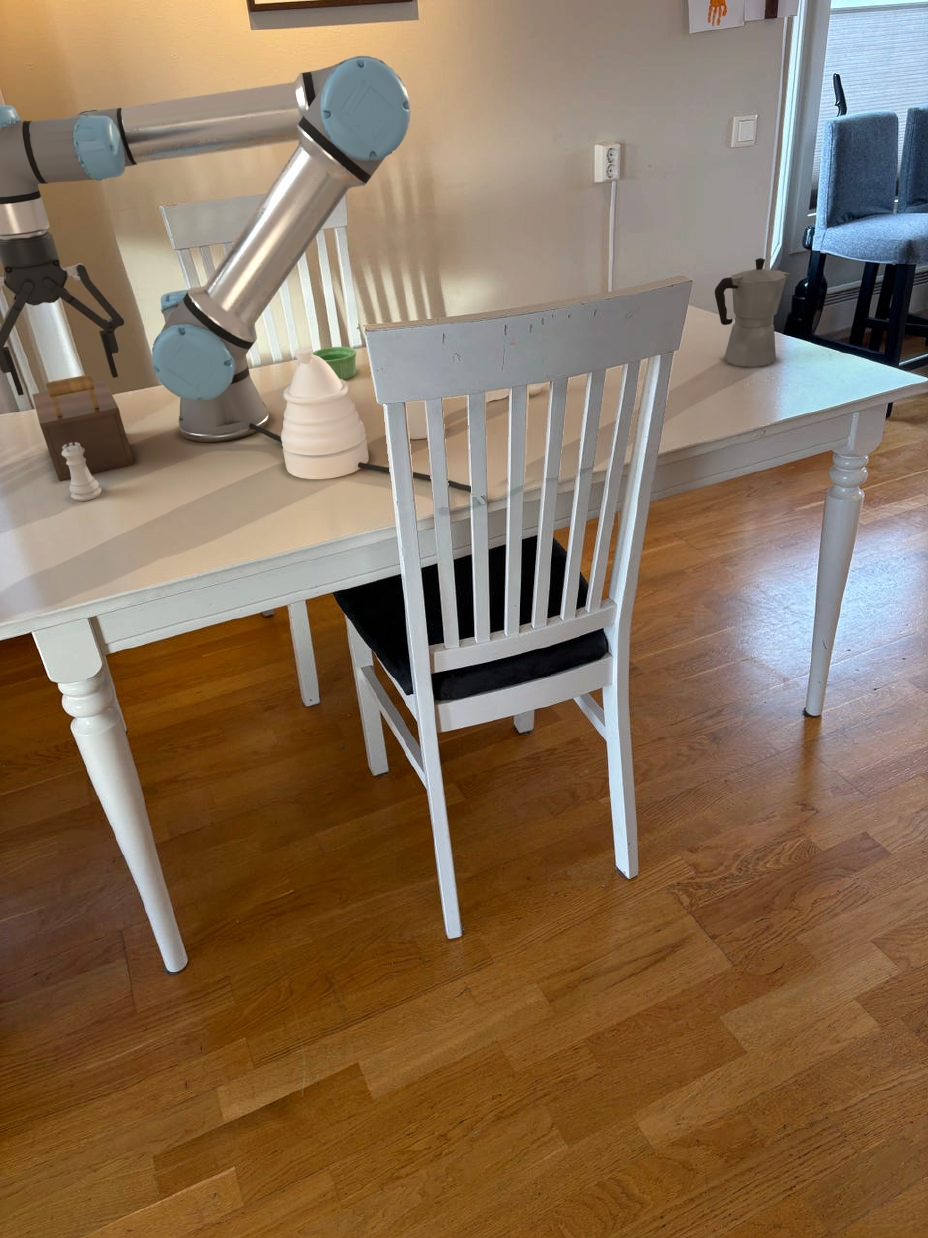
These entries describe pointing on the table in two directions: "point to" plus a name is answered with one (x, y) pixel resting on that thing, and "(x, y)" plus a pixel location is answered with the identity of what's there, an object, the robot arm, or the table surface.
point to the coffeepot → (751, 314)
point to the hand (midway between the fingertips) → (68, 383)
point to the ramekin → (339, 360)
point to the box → (90, 444)
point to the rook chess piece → (80, 474)
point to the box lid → (73, 401)
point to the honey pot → (321, 423)
